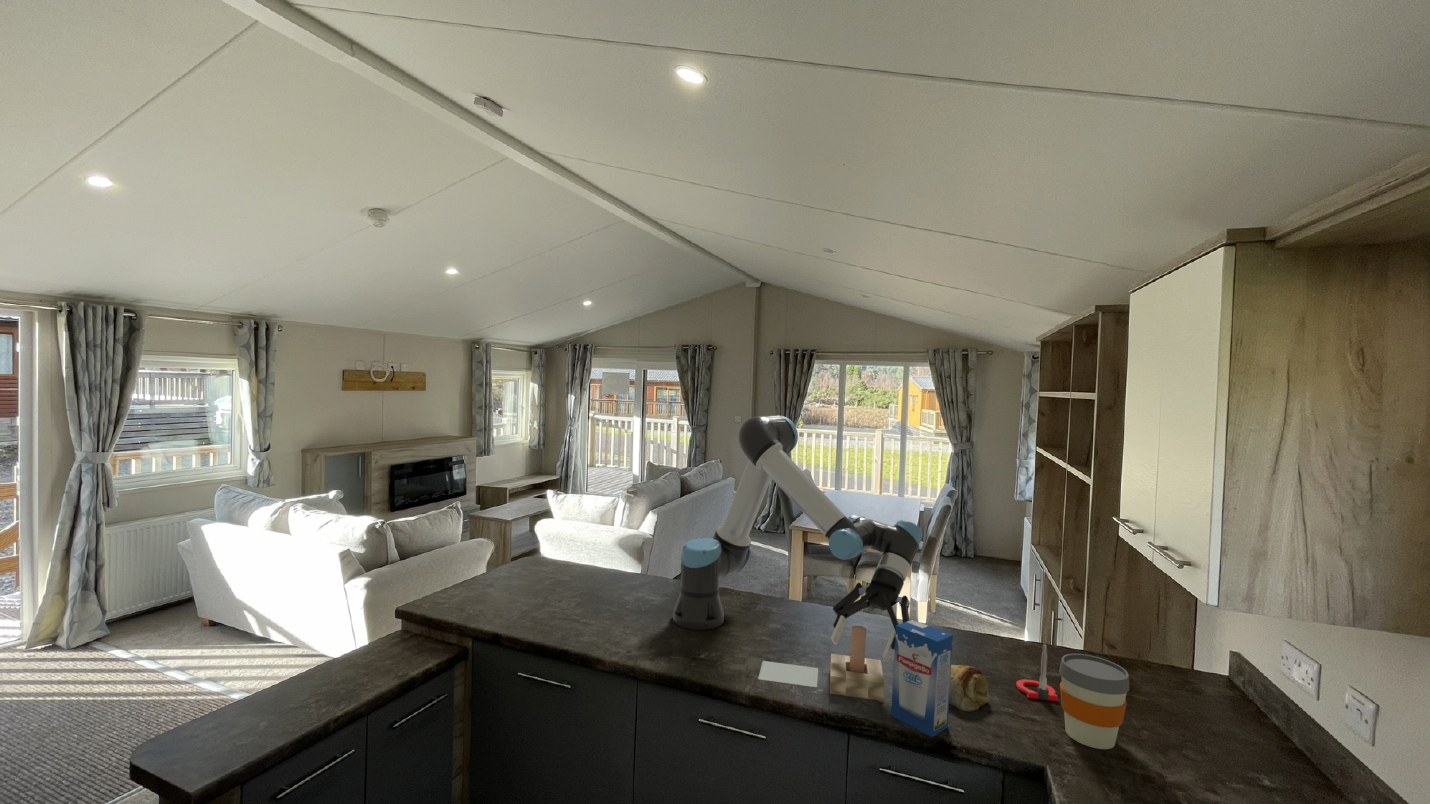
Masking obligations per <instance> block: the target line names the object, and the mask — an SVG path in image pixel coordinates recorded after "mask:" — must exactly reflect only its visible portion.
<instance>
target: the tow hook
mask: <svg viewBox="0 0 1430 804" xmlns="http://www.w3.org/2000/svg"><path fill="white" fill-rule="evenodd" d="M1047 650H1048V649H1047V644H1045V643H1044V644H1042V652H1041V658H1040V676H1039V681H1038V680H1033V679H1026V678H1025V679H1019V680H1016V682H1015V683H1016V684H1015V685H1016V688H1017V689H1018V690H1019V691H1021V692H1022V693H1023V694H1026V698H1028V699H1034V700H1038V701H1046V702H1047V701H1050V702H1059V696H1058V694H1056V693H1057V692H1056V690H1055V689H1054V687H1052V686H1050V685H1049V684H1048V678H1047V668H1048V667H1047V666H1048V653H1047ZM1026 686H1035V687H1036V691H1035V690H1031V689H1030V688H1027V687H1026Z"/></svg>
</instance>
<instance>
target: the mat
mask: <svg viewBox="0 0 1430 804" xmlns="http://www.w3.org/2000/svg"><path fill="white" fill-rule="evenodd" d="M760 666H761V667H760V671H759V675H758V677H757V679H758V680H760V681H767V682H774V683H775V682H776V683H783V684H787V685H789V684H790V685H796V686H804V687H811V688H818V680H819V679H818V676H819V668H818V667H811V666H805V665H799V664H798V665H796V664H791V663H783V662H776V661H775V662H774V661H766V660H762V662H761V665H760Z"/></svg>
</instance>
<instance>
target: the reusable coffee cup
mask: <svg viewBox="0 0 1430 804" xmlns="http://www.w3.org/2000/svg"><path fill="white" fill-rule="evenodd" d="M1058 671H1059V674H1060V678H1061V681H1060V683H1059V690H1060V691H1059V692H1060V703H1061V704H1060V705H1061V708H1062V709H1063V715H1064V716H1063V717H1064V725H1065V726H1064V727H1065V732H1066V735H1068V737H1069V738H1071V739H1072V740H1074V741H1076V742H1077V743H1079V744H1081V745H1084V746H1085V747H1086V746H1087V747H1090V748H1094V749H1099V750H1109V749H1113V748H1114V747H1115V746H1116V741H1117V737H1118V733H1119V727H1120V726H1121V725H1123V722H1124V718H1125V712H1126V709H1127V705H1128V702H1127V699H1126V696H1127V693H1128V692H1130V678H1129V677H1130V676H1129V673H1128V671H1127V670H1126V668H1124V667H1122V666H1121V665H1119V664H1118V663H1117V664H1116V663H1115V662H1113V661H1111V660H1107V659H1105V658H1103V657H1098V656H1094V655H1090V654H1084V653H1083V654H1082V653H1067V654H1065V655H1063V656H1062V657H1061V660H1060V665H1059V670H1058Z"/></svg>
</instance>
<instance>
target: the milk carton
mask: <svg viewBox="0 0 1430 804" xmlns="http://www.w3.org/2000/svg"><path fill="white" fill-rule="evenodd" d="M895 634H896V635H895V650H894V654H893V655H894V657H893V675H892V677H893V678H892V690H891V691H892V692H891V695H892V696H891V707H890V708H891V711H890V712H891V713H890V716H891V717H892V718H895V719H896V720H898V721H900V722H902V723H904V724H906V725H907V726H910V727H912V728H914V729H916V730H917V731H920V732H922V733H923V734H925V735H927V736H929V737H931V738H933V737H935V736H936V735H938V734H939V733H942V732H943V731H944V730H945V729H947V728H949V715H950V712H949V711H950V709H949V708H950V704H949V696H950V679H951V665H952V660H953V643H954V642H953V641H954V634H952V633H950V632H947V631H944V630H942V629H939V628H937V627H933V626H930V625H927V624H926V623H923V622H920V621H917V620H915V619H910V620H909V621H907V622H904V623H903V622H902V623H899V625H896V632H895Z"/></svg>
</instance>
